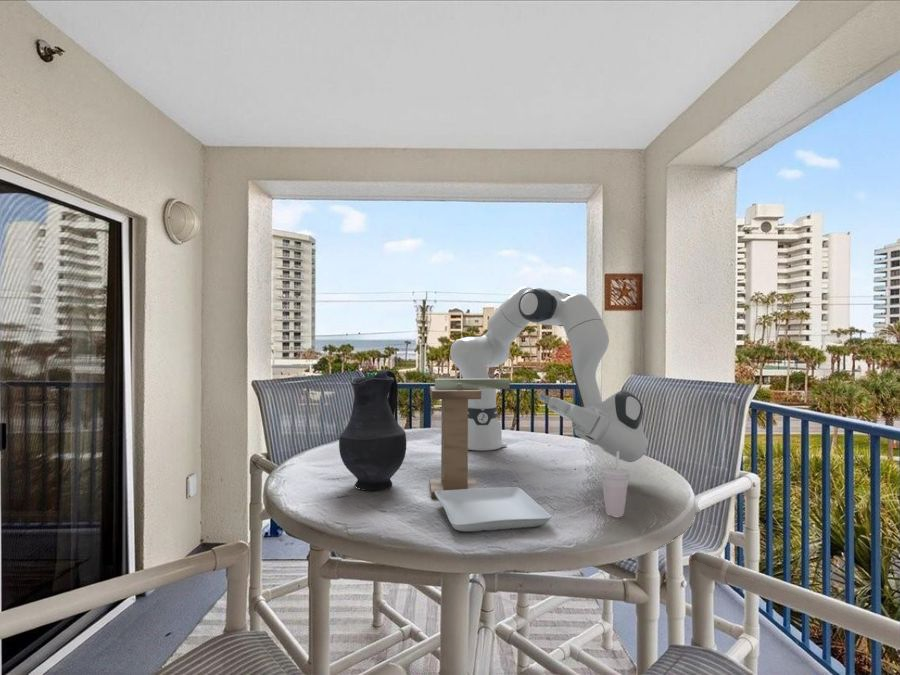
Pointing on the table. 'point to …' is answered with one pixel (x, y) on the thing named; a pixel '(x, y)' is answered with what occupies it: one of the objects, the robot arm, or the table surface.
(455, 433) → the shelf stand
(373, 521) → the table surface
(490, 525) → the salad plate
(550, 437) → the table surface
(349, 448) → the pitcher
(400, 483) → the table surface
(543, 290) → the robot arm
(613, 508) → the smoothie
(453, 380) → the bar
